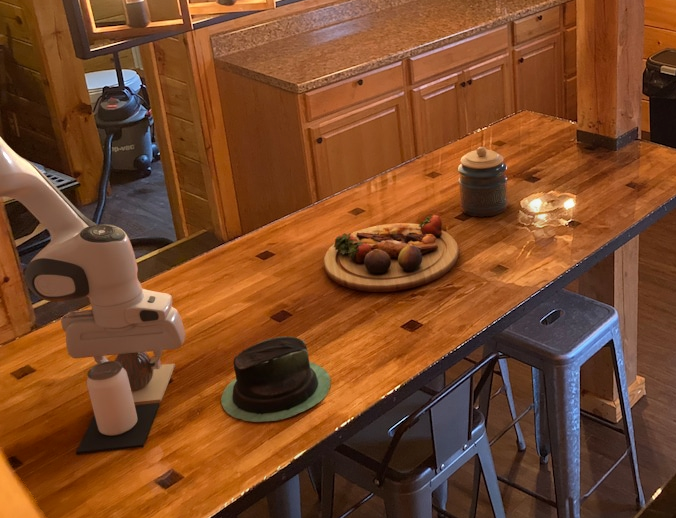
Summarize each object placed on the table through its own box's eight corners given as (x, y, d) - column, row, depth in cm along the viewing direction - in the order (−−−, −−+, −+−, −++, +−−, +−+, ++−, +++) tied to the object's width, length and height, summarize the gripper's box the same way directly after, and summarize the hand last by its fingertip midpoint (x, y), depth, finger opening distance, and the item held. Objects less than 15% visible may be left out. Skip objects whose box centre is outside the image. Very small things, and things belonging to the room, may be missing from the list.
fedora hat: (296, 342, 196) (356, 382, 184) (229, 416, 188) (288, 462, 176) (256, 302, 185) (317, 341, 174) (184, 378, 177) (243, 424, 166)
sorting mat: (76, 454, 165) (75, 451, 165) (116, 371, 188) (115, 368, 188) (143, 447, 167) (142, 444, 167) (175, 365, 190) (174, 362, 189)
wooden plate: (427, 220, 250) (424, 191, 247) (481, 270, 226) (480, 239, 223) (306, 251, 234) (302, 221, 231) (351, 308, 210) (347, 275, 206)
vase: (164, 379, 184) (155, 341, 181) (134, 399, 179) (125, 360, 175) (138, 370, 187) (129, 333, 184) (108, 390, 181) (99, 351, 178)
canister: (508, 197, 264) (506, 137, 257) (507, 217, 252) (505, 155, 245) (461, 198, 263) (458, 138, 256) (458, 218, 251) (454, 157, 244)
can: (107, 414, 174) (93, 360, 170) (143, 413, 175) (130, 358, 170) (92, 437, 169) (77, 381, 164) (130, 436, 169) (116, 380, 164)
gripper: (53, 321, 171) (69, 385, 177) (172, 311, 175) (185, 373, 180) (64, 303, 177) (80, 365, 183) (180, 294, 181) (192, 355, 186)
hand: (133, 369), depth 182 cm, fingers closed on vase, 7 cm apart
